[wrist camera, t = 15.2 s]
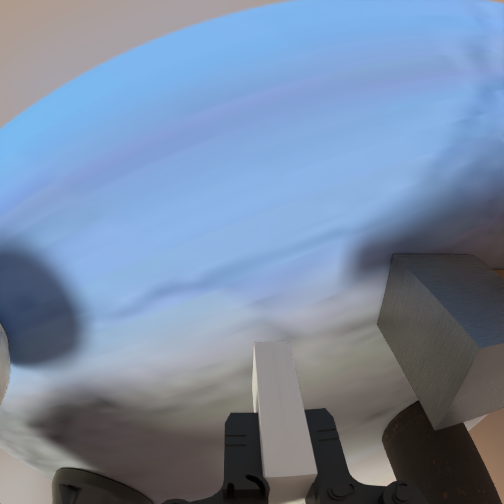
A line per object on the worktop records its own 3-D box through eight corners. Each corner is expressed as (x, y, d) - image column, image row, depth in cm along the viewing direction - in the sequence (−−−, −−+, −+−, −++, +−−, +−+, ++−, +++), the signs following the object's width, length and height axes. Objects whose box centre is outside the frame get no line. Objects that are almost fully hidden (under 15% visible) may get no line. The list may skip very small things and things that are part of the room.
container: (372, 455, 28) (415, 607, 9) (384, 407, 24) (452, 601, 6) (440, 433, 28) (497, 567, 9) (462, 382, 24) (548, 539, 6)
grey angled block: (376, 324, 20) (434, 430, 12) (393, 253, 18) (480, 348, 10) (452, 317, 21) (519, 400, 12) (472, 254, 19) (560, 327, 10)
